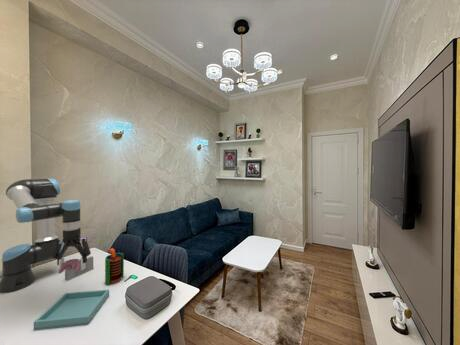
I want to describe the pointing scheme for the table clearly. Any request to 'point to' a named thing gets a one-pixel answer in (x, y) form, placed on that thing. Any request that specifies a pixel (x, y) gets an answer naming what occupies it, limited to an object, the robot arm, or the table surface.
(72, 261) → the video game controller
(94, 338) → the table surface
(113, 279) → the motor
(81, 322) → the tray
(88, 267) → the cassette player
